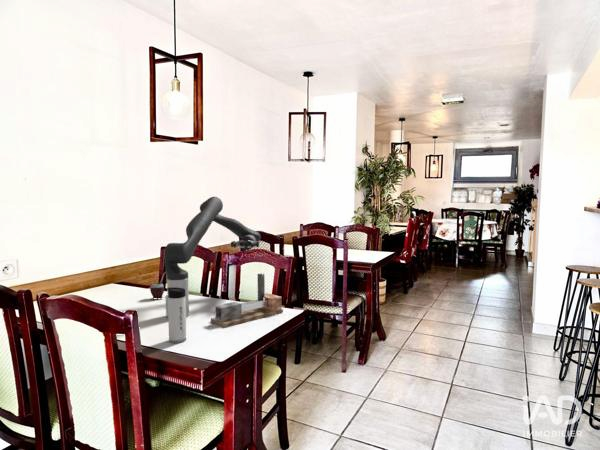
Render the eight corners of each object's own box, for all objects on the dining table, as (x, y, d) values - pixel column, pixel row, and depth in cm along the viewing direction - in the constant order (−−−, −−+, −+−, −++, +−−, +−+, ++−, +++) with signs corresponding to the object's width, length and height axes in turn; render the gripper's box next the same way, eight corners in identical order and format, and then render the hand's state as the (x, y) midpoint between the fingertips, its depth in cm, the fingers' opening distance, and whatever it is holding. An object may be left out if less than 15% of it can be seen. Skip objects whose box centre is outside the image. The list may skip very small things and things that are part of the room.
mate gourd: (147, 299, 214) (147, 271, 213) (158, 296, 221) (157, 269, 220) (158, 300, 211) (158, 272, 210) (169, 297, 218) (168, 270, 218)
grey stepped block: (234, 313, 174) (234, 279, 173) (230, 312, 176) (229, 278, 175) (273, 304, 189) (273, 273, 188) (269, 303, 191) (268, 272, 191)
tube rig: (225, 327, 166) (224, 309, 166) (210, 321, 174) (210, 304, 174) (282, 312, 188) (282, 296, 188) (267, 308, 196) (267, 292, 196)
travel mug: (170, 337, 154) (169, 286, 152) (187, 337, 154) (186, 285, 153) (166, 343, 147) (164, 289, 146) (184, 343, 148) (183, 289, 147)
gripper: (234, 235, 217) (228, 238, 200) (261, 235, 216) (257, 238, 200) (234, 249, 217) (229, 253, 201) (261, 249, 217) (257, 253, 201)
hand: (243, 245), depth 201 cm, fingers open, 8 cm apart
